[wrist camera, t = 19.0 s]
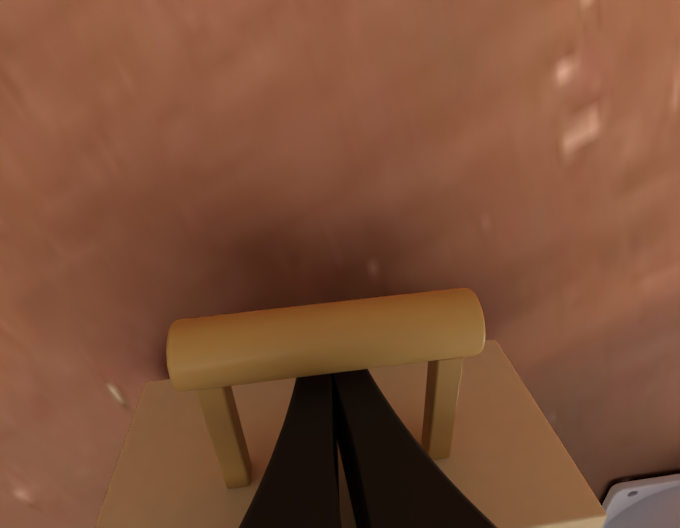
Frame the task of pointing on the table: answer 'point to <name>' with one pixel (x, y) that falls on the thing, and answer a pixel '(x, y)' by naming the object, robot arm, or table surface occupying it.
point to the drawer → (268, 417)
